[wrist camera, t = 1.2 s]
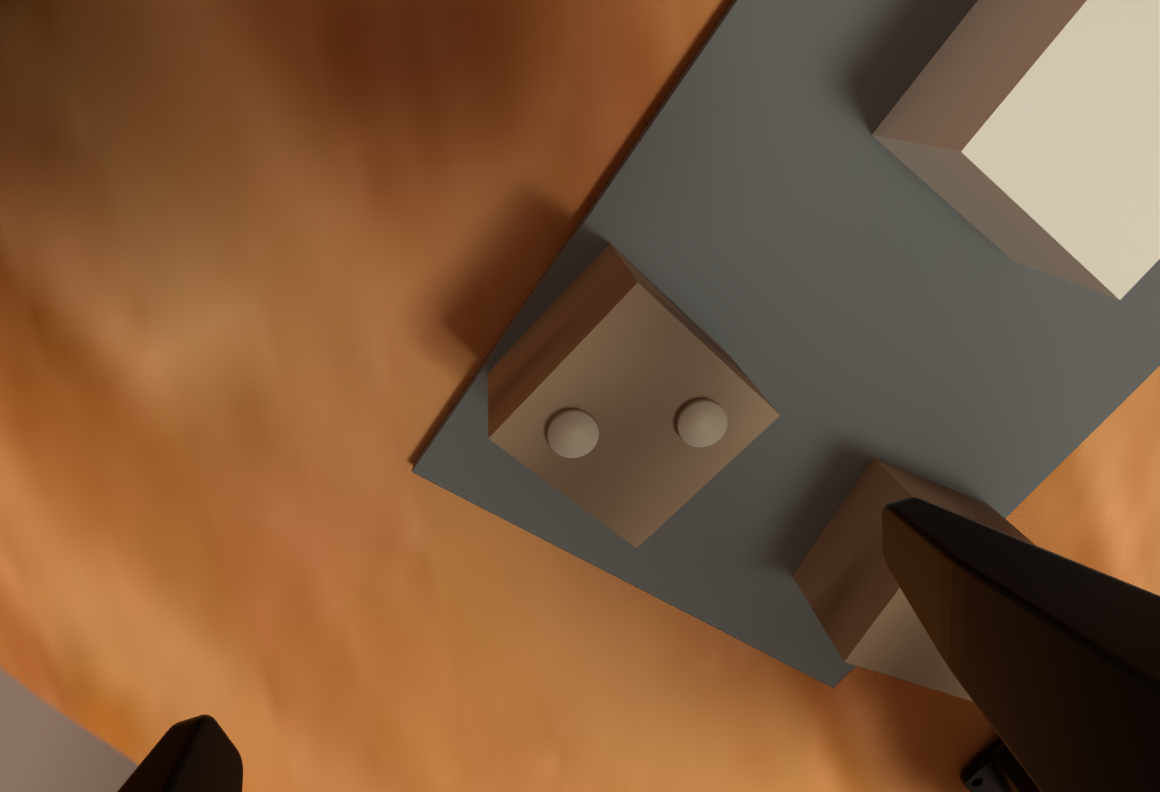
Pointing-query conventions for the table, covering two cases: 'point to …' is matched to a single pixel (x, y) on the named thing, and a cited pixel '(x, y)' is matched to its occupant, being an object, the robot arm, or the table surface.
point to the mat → (816, 318)
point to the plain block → (1045, 134)
